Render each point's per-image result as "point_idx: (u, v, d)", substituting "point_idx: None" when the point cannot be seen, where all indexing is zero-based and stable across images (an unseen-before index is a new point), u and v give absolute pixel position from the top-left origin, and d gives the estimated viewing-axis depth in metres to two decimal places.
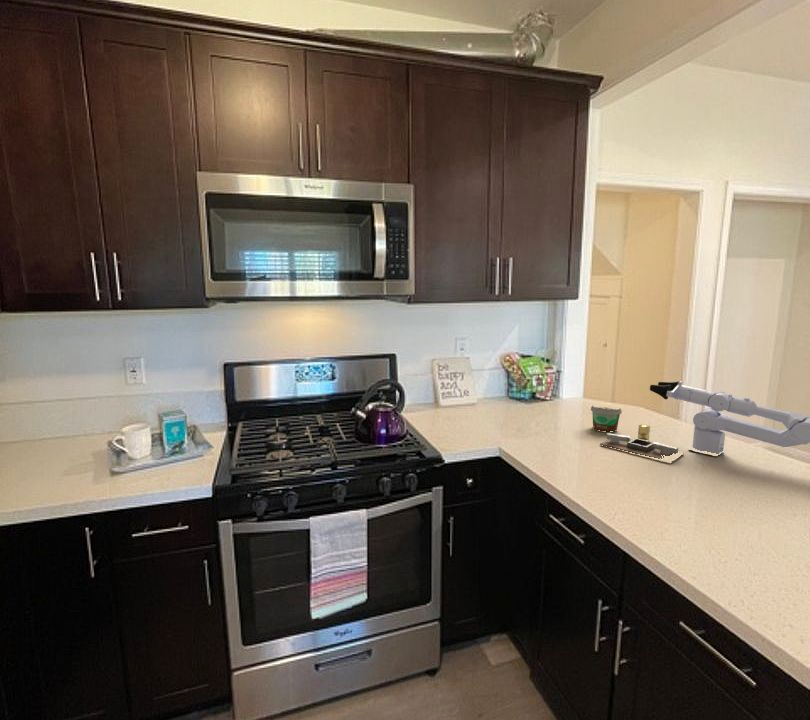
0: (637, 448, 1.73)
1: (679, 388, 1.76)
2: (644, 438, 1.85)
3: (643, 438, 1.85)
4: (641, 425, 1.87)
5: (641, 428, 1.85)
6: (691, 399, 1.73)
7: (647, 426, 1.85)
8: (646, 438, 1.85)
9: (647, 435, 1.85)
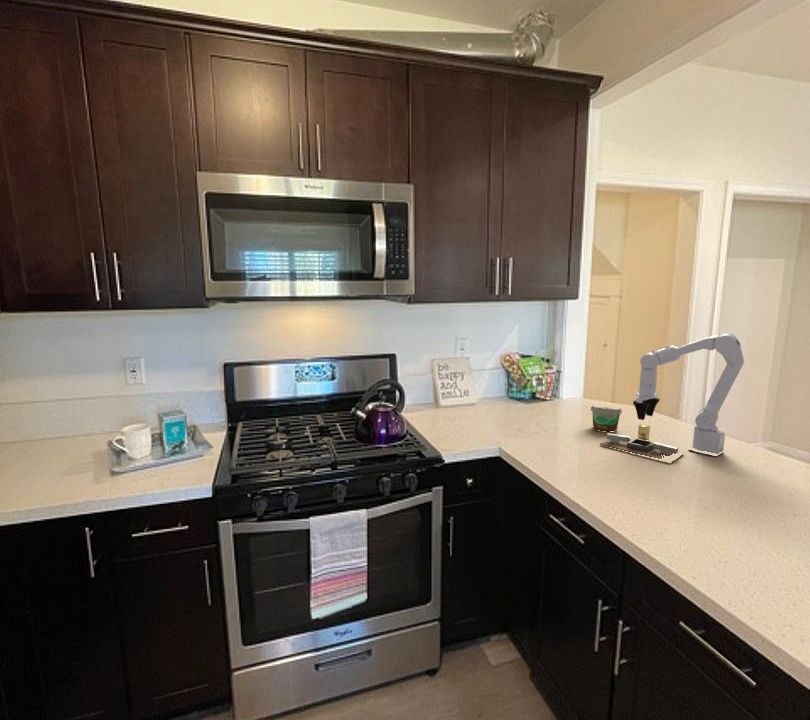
0: (637, 448, 1.73)
1: (639, 393, 1.84)
2: (644, 438, 1.85)
3: (643, 438, 1.85)
4: (641, 425, 1.87)
5: (641, 428, 1.85)
6: (649, 383, 1.80)
7: (647, 426, 1.85)
8: (646, 438, 1.85)
9: (647, 435, 1.85)
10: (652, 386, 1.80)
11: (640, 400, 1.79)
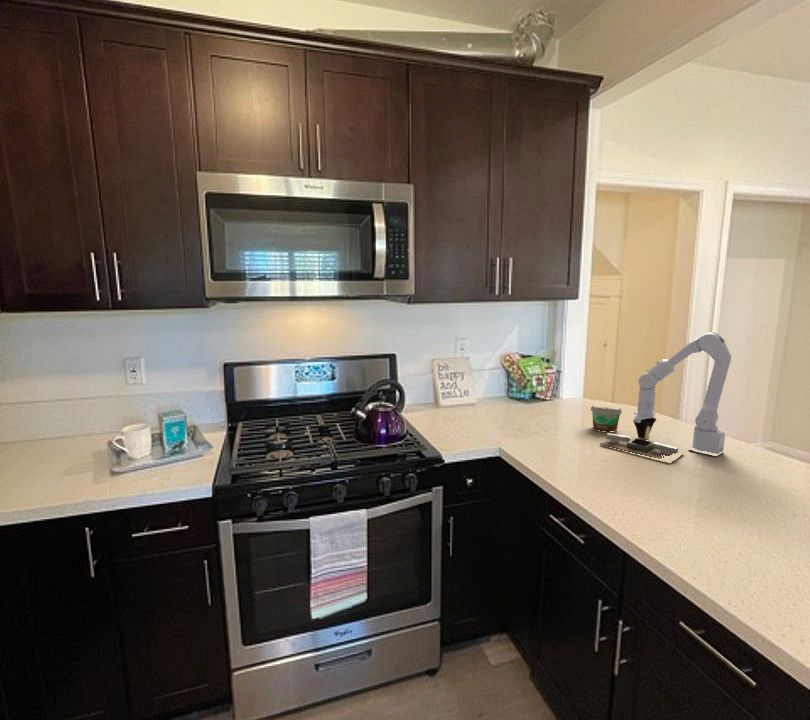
0: (637, 448, 1.73)
1: (638, 413, 1.85)
2: (644, 438, 1.85)
3: (643, 438, 1.85)
4: None
5: None
6: (648, 403, 1.82)
7: None
8: (646, 438, 1.85)
9: (647, 435, 1.85)
10: (650, 406, 1.82)
11: (638, 420, 1.80)
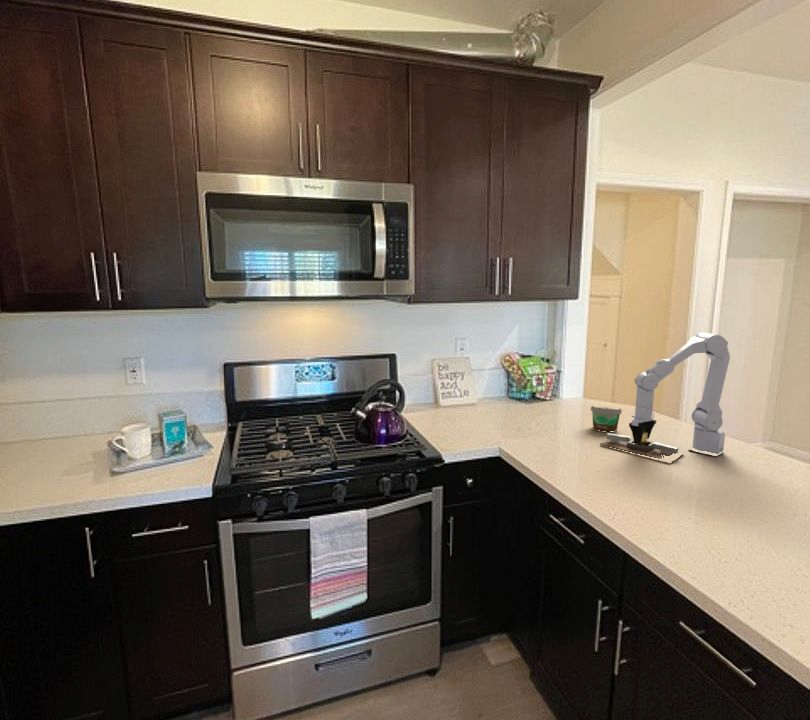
0: (637, 448, 1.73)
1: (635, 415, 1.74)
2: None
3: None
4: None
5: None
6: (650, 405, 1.71)
7: (644, 432, 1.74)
8: (643, 445, 1.74)
9: (644, 442, 1.74)
10: (649, 408, 1.71)
11: (636, 423, 1.69)
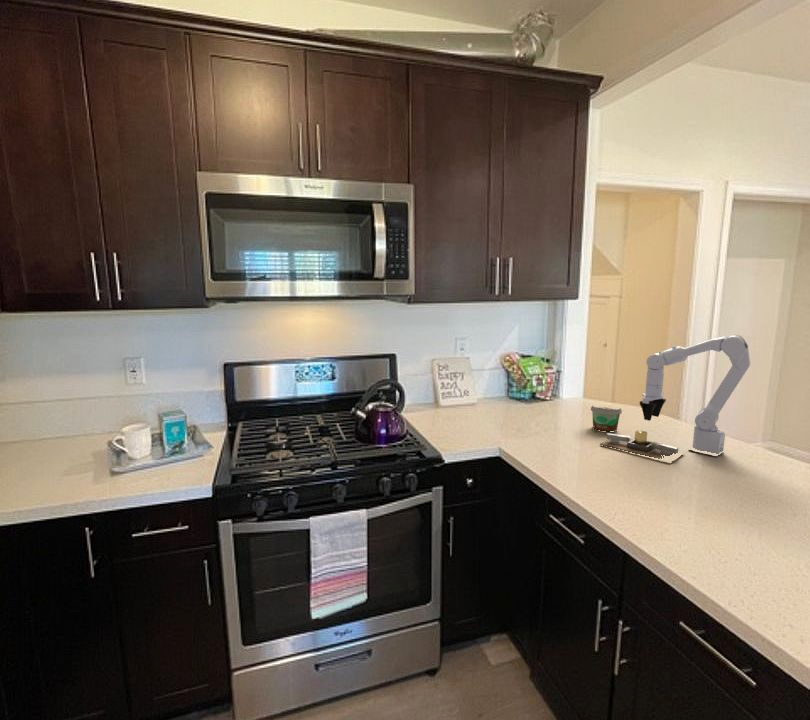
0: (637, 448, 1.73)
1: (646, 394, 1.83)
2: None
3: None
4: (638, 431, 1.76)
5: (638, 435, 1.74)
6: (656, 383, 1.79)
7: (644, 432, 1.75)
8: (643, 445, 1.74)
9: (644, 442, 1.74)
10: (659, 386, 1.80)
11: (647, 401, 1.78)
